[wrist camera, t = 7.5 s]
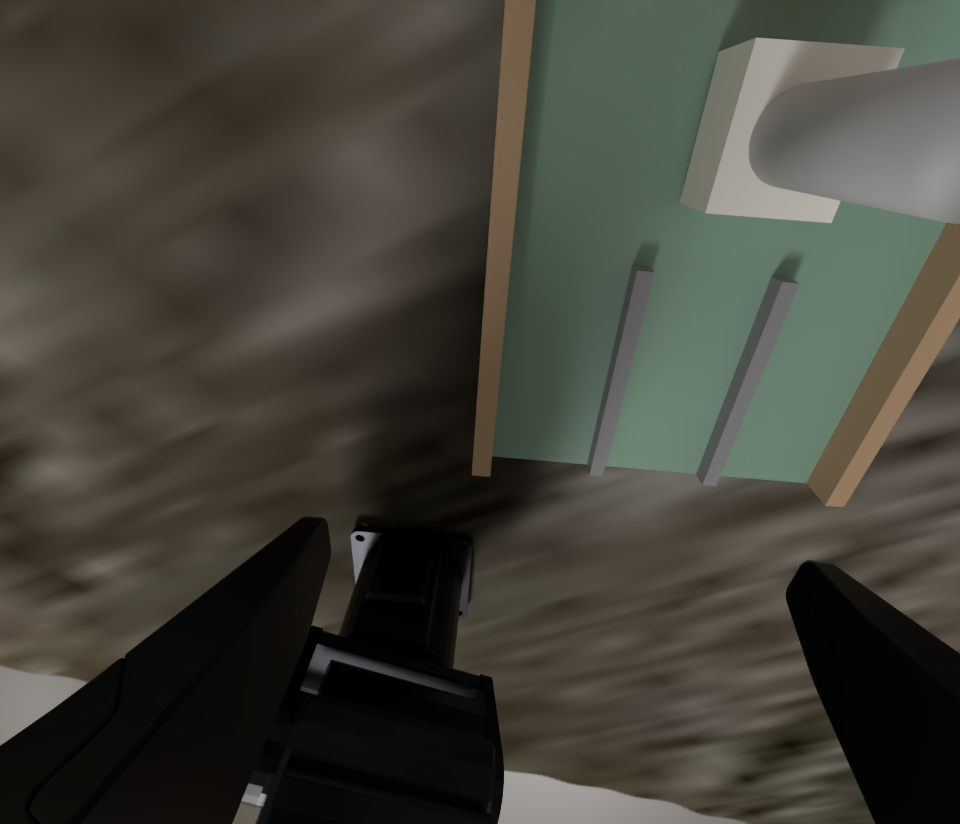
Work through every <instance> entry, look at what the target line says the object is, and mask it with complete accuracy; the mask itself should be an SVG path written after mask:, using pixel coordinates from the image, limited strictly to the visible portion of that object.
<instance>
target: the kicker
mask: <svg viewBox="0 0 960 824" xmlns="http://www.w3.org/2000/svg"><path fill="white" fill-rule="evenodd" d="M904 50H905V48H894V47H880V46H866V45H853V44H839V43H825V42H811V41H797V40H783V39H769V38H754V39H751V40H748V41H746V42H743V43H741V44H738V45H735V46H733V47H730V48H728V49H725V50H722V51H720V52H719V53H718V57H717V60H716V64H715V68H714V72H713V76H712V80H711V83H710V87H709V91H708V95H707V99H706V103H705V107H704V110H703V114H702V118H701V122H700V126H699V130H698V133H697V137H696V141H695V145H694V149H693V153H692V157H691V160H690V164H689V168H688V172H687V176H686V180H685V183H684V187H683V191H682V195H681V199H680V203H682V204H684V205H686V206H689V207H691V208H693V209H696V210H698V211H701V212H703V213H706V214H719V215H732V216H745V217H758V218H771V219H784V220H797V221H810V222H822V223H832V221H833V218H834V216H835V213H836V211H837V209H838V206H839V204H840V202H841V201H844V202H849V203H854V204H859V205H863V206H868V207H873V208H878V209H883V210H887V211H892V212H897V213H902V214H907V215H911V216H916V217H921V218H926V219H931V220H935V221H940V222H945V223H952V224H960V58H958V59H952V60H946V61H940V62H934V63H928V64H922V65H916V66H910V67H903V68H897V66H898V64H899V62H900V59H901V57H902V54H903V52H904Z"/></svg>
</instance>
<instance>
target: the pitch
mask: <svg viewBox="0 0 960 824" xmlns="http://www.w3.org/2000/svg"><path fill="white" fill-rule="evenodd" d="M754 38H769V39H783V40H797V41H811V42H825V43H839V44H853V45H866V46H880V47H894V48H905V50H904V52H903V54H902V57H901V59H900V62H899V64H898V66H897V68H903V67H910V66H916V65H922V64H928V63H934V62H940V61H946V60H952V59H958V58H960V0H505V10H504V24H503V38H502V53H501V67H500V81H499V95H498V109H497V124H496V138H495V152H494V166H493V180H492V194H491V209H490V223H489V237H488V251H487V265H486V279H485V294H484V308H483V322H482V336H481V350H480V365H479V379H478V393H477V407H476V421H475V435H474V450H473V464H472V475H475V476H487V477H490V473H491V462H492V456H494V457H505V458H517V459H529V460H541V461H552V462H564V463H576V464H587V467H588V471H589V475H591V476H603V474H604V470H605V466H611V467H623V468H635V469H646V470H658V471H670V472H682V473H694V474H697V476H698V478H699V480H700V482H701V483H702V485H708V486H716V485H717V483H718V480H719V478H720V476H729V477H741V478H752V479H764V480H776V481H788V482H799V483H807V485H808V486H809V487H810V488H811V489H812V490H813V492H814V493H815V494H816V495H817V496H818V498H819V499H820V500H821V501H822V502H823V503H824V505H825V506H837V507H844V506H845V505H846V503H847V501H848V500H849V498H850V497H851V495H852V493H853V492H854V490H855V488H856V487H857V485H858V483H859V482H860V480H861V479H862V477H863V475H864V474H865V472H866V470H867V469H868V467H869V465H870V464H871V462H872V461H873V459H874V457H875V456H876V454H877V452H878V451H879V449H880V448H881V446H882V444H883V443H884V441H885V439H886V438H887V436H888V434H889V433H890V431H891V430H892V428H893V426H894V425H895V423H896V421H897V420H898V418H899V417H900V415H901V413H902V412H903V410H904V408H905V407H906V405H907V403H908V402H909V400H910V399H911V397H912V395H913V394H914V392H915V390H916V389H917V387H918V385H919V384H920V382H921V381H922V379H923V377H924V376H925V374H926V372H927V371H928V369H929V368H930V366H931V364H932V363H933V361H934V359H935V358H936V356H937V354H938V353H939V351H940V350H941V348H942V346H943V345H944V343H945V341H946V340H947V338H948V337H949V335H950V333H951V332H952V330H953V328H954V327H955V325H956V323H957V322H958V320H959V319H960V224H952V223H945V222H940V221H935V220H931V219H926V218H921V217H916V216H911V215H907V214H902V213H897V212H892V211H887V210H883V209H878V208H873V207H868V206H863V205H859V204H854V203H849V202H844V201H841V202H840V204H839V206H838V209H837V211H836V213H835V216H834V218H833V221H832V223H822V222H810V221H797V220H784V219H771V218H758V217H745V216H732V215H719V214H706V213H703V212H701V211H698V210H696V209H693V208H691V207H689V206H686V205H684V204H682V203H680V199H681V195H682V191H683V187H684V183H685V180H686V176H687V172H688V168H689V164H690V160H691V157H692V153H693V149H694V145H695V141H696V137H697V133H698V130H699V126H700V122H701V118H702V114H703V110H704V107H705V103H706V99H707V95H708V91H709V87H710V83H711V80H712V76H713V72H714V68H715V64H716V60H717V57H718V53H719V52H720V51H722V50H725V49H728V48H730V47H733V46H735V45H738V44H741V43H743V42H746V41H748V40H751V39H754Z"/></svg>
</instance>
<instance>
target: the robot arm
mask: <svg viewBox="0 0 960 824" xmlns="http://www.w3.org/2000/svg"><path fill="white" fill-rule="evenodd" d="M360 535H362V536H360ZM461 544H465V545H461ZM472 544H473V542H472V539H471V538H470V537H468V536H466V535H458V534H447V533H435V532H424V531H412V530H401V529H389V528H378V527H367V526H357V527H355V528H354V529H353V532H352V534H351V545H352V554H353V563H354V573H355V582H356V585H355V588H354V591H353V594H352V597H351V600H350V602H349V605H348V608H347V611H346V614H345V617H344V620H343V623H342V626H341V629H340V632H339V635H336V634H332V633H329V632H325V631H322V630H323V628H319V627H316V626H312V625H311V624H312V621H313V617H314V614H315V610H316V607H317V603H318V600H319V596H320V593H321V589H322V586H323V582H324V579H325V575H326V572H327V568H328V565H329V561H330V556H331V545H330V538H329V531H328V524H327V521H326V519H324V518H320V517H308V516H306V517H303V518H301V519H300V520H298V521H297V522H296V523H294V524H293V525H292V526H290V527H289V528H288V529H287V530H285V531H284V532H283V533H281V534H280V535H279V536H278V537H276V538H275V539H274V540H272V541H271V542H270V543H269V544H267V545H266V546H265V547H263V548H262V549H261V550H259V551H258V552H257V553H256V554H254V555H253V556H252V557H250V558H249V559H248V560H247V561H245V562H244V563H243V564H241V565H240V566H239V567H238V568H236V569H235V570H234V571H232V572H231V573H230V574H228V575H227V576H226V577H225V578H223V579H222V580H221V581H219V582H218V583H217V584H216V585H214V586H213V587H212V588H210V589H209V590H208V591H207V592H205V593H204V594H203V595H201V596H200V597H199V598H198V599H196V600H195V601H194V602H192V603H191V604H190V605H188V606H187V607H186V608H185V609H183V610H182V611H181V612H179V613H178V614H177V615H176V616H174V617H173V618H172V619H170V620H169V621H168V622H167V623H165V624H164V625H163V626H161V627H160V628H159V629H157V630H156V631H155V632H154V633H152V634H151V635H150V636H148V637H147V638H146V639H145V640H143V641H142V642H141V643H139V644H138V645H137V646H136V647H134V648H133V649H132V650H130V651H129V652H128V653H127V654H126V655H125V659H124V658H120V659H118V660H117V661H116V662H115V663H113V664H112V665H111V666H109V667H108V668H107V669H106V670H104V671H103V672H102V673H100V674H99V675H98V676H97V677H95V678H94V679H93V680H91V681H90V682H89V683H87V684H86V685H85V686H83V687H82V688H80V689H79V690H78V691H77V692H75V693H74V694H72V695H71V696H70V697H68V698H67V699H66V700H64V701H63V702H62V703H61V704H59V705H58V706H56V707H55V708H54V709H52V710H51V711H49V712H48V713H46V714H45V715H44V716H42V717H41V718H39V719H38V720H36V721H35V722H34V723H32V724H31V725H29V726H28V727H26V728H25V729H24V730H22V731H21V732H19V733H18V734H17V735H15V736H14V737H12V738H11V739H9V740H8V741H6V742H5V743H4V744H2V745H1V746H0V824H232V823H233V820H234V818H235V815H236V813H237V810H238V808H239V805H240V804H243V805H247V806H252V807H259V808H261V810H260V812H259V815H258V818H257V820H256V823H255V824H497V823H498V819H499V815H500V810H501V803H502V797H503V786H504V785H503V784H504V763H503V753H502V746H501V739H500V731H499V724H498V717H497V710H496V703H495V695H494V688H493V681H492V677H489V676H485V675H482V674H480V676H478V675H474V674H471V673H467V672H464V671H460V670H457V669H453V665H454V655H455V646H456V636H457V627H458V618H464V617H465V616H466V615H467V607H468V594H469V582H470V569H471V556H472ZM786 600H787V604H788V607H789V610H790V613H791V616H792V619H793V622H794V625H795V629H796V632H797V635H798V638H799V641H800V644H801V647H802V650H803V653H804V656H805V659H806V662H807V665H808V668H809V671H810V674H811V676H812V679H813V682H814V685H815V687H816V690H817V692H818V694H819V697H820V699H821V701H822V704H823V706H824V708H825V711H826V713H827V715H828V717H829V720H830V722H831V724H832V727H833V729H834V731H835V733H836V736H837V738H838V740H839V743H840V745H841V747H842V749H843V752H844V754H845V756H846V759H847V761H848V763H849V765H850V768H851V770H852V772H853V774H854V777H855V779H856V781H857V784H858V786H859V788H860V790H861V793H862V795H863V797H864V800H865V802H866V804H867V806H868V809H869V811H870V813H871V816H872V818H873V820H874V822H875V824H960V653H958V652H957V651H955V650H954V649H953V648H951V647H950V646H948V645H947V644H946V643H944V642H943V641H941V640H940V639H938V638H937V637H936V636H934V635H933V634H931V633H930V632H929V631H927V630H926V629H924V628H923V627H921V626H920V625H919V624H917V623H916V622H914V621H913V620H912V619H910V618H909V617H907V616H906V615H904V614H903V613H902V612H900V611H899V610H897V609H896V608H895V607H893V606H892V605H890V604H889V603H887V602H886V601H885V600H883V599H882V598H880V597H879V596H878V595H876V594H875V593H873V592H872V591H870V590H869V589H868V588H866V587H865V586H863V585H862V584H861V583H859V582H858V581H856V580H855V579H853V578H852V577H851V576H849V575H848V574H846V573H845V572H844V571H842V570H841V569H839V568H838V567H836V566H835V565H833V564H832V563H829V562H824V561H813V560H807V561H805V562H803V563H802V564H801V565H800V567H799V569H798V570H797V572H796V574H795V575H794V577H793V579H792V580H791V582H790V584H789V585H788V587H787V590H786Z"/></svg>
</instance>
